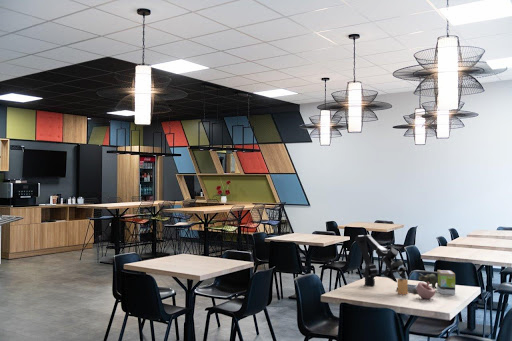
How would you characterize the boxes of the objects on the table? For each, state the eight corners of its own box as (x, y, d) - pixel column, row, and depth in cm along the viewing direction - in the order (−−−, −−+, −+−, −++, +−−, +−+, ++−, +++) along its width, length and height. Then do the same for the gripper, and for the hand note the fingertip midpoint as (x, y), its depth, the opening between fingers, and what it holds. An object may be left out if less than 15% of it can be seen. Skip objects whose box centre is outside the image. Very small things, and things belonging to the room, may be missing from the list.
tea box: (455, 295, 330) (455, 273, 331) (440, 294, 332) (440, 273, 333) (451, 290, 345) (451, 269, 346) (436, 289, 347) (436, 269, 348)
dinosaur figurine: (436, 284, 365) (436, 270, 365) (446, 286, 357) (445, 271, 358) (417, 288, 353) (417, 272, 353) (427, 290, 346) (427, 274, 346)
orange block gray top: (397, 293, 334) (397, 278, 334) (402, 292, 336) (402, 277, 337) (403, 294, 330) (402, 279, 330) (407, 294, 332) (407, 279, 332)
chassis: (395, 290, 343) (395, 285, 343) (403, 287, 355) (403, 282, 355) (418, 293, 333) (418, 288, 333) (424, 290, 345) (424, 285, 345)
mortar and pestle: (433, 301, 311) (433, 284, 311) (414, 299, 317) (414, 281, 318) (437, 298, 321) (437, 281, 321) (419, 295, 327) (418, 279, 328)
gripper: (385, 257, 335) (397, 275, 325) (404, 255, 344) (417, 273, 334) (378, 267, 341) (389, 285, 331) (396, 265, 351) (408, 282, 340)
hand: (401, 281), depth 334 cm, fingers open, 9 cm apart
